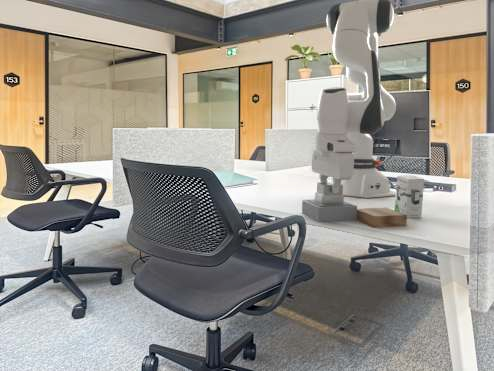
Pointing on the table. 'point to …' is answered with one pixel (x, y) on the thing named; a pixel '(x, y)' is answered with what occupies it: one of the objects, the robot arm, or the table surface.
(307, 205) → the grey riser
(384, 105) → the robot arm
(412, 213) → the ink box
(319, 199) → the housing
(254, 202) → the table surface
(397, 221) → the walnut stand
